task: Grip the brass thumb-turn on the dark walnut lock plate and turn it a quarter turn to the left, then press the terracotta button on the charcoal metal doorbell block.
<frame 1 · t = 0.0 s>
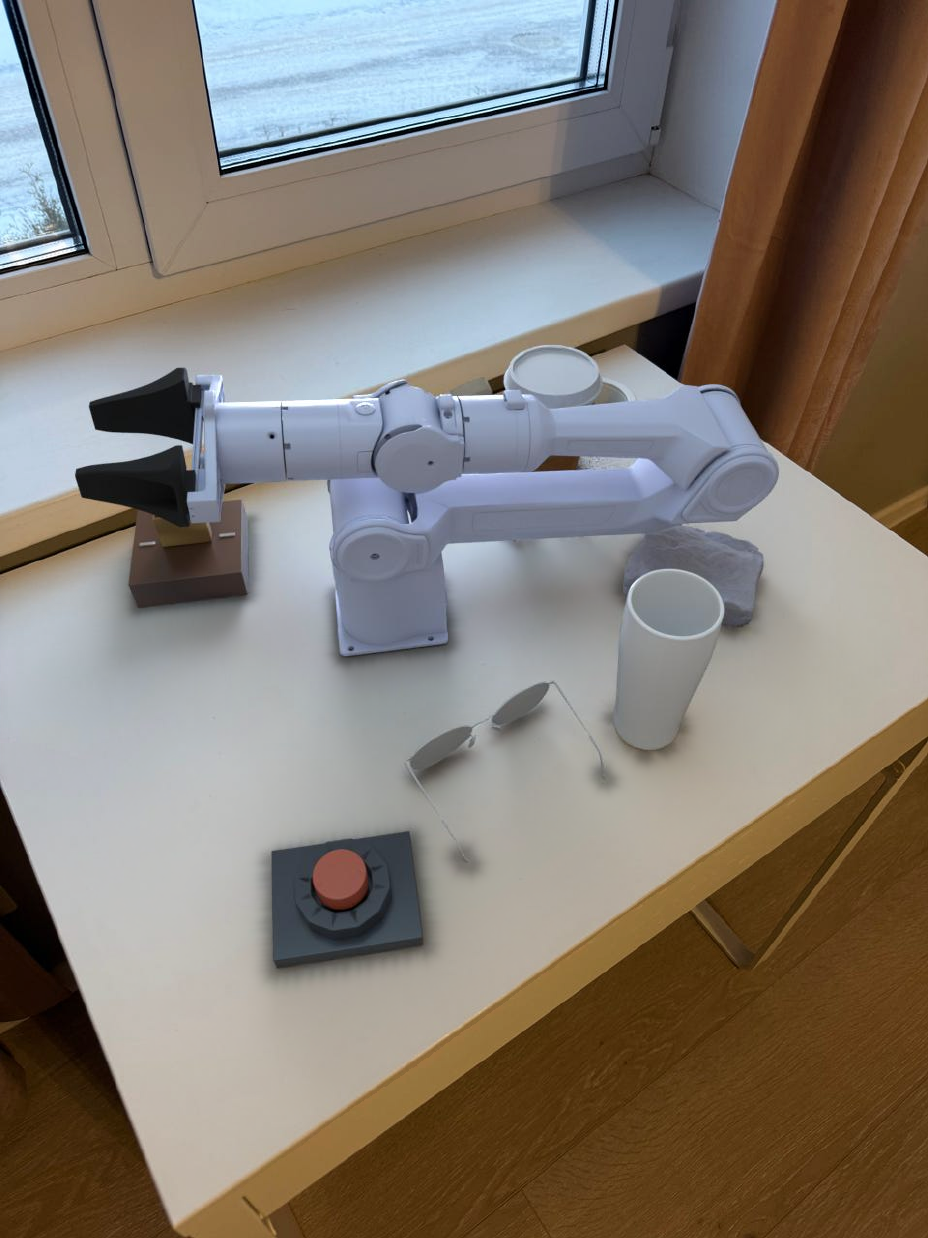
hand: (85, 448, 62), 22 cm above the table, tool horizontal, fingers open, 7 cm apart
disposable coffee cup: (545, 470, 94), on the table
stone block: (692, 581, 83), on the table
drinking glass: (644, 727, 73), on the table
bell button: (340, 879, 61), point 4 cm above the table, slide at 0.1 cm
lock plate: (195, 562, 86), on the table
bell block: (346, 901, 63), on the table
thumbturn: (182, 524, 82), point 5 cm above the table, hinge at 0.0°
handle: (528, 537, 86), point 1 cm above the table
sunglasses: (506, 779, 70), on the table
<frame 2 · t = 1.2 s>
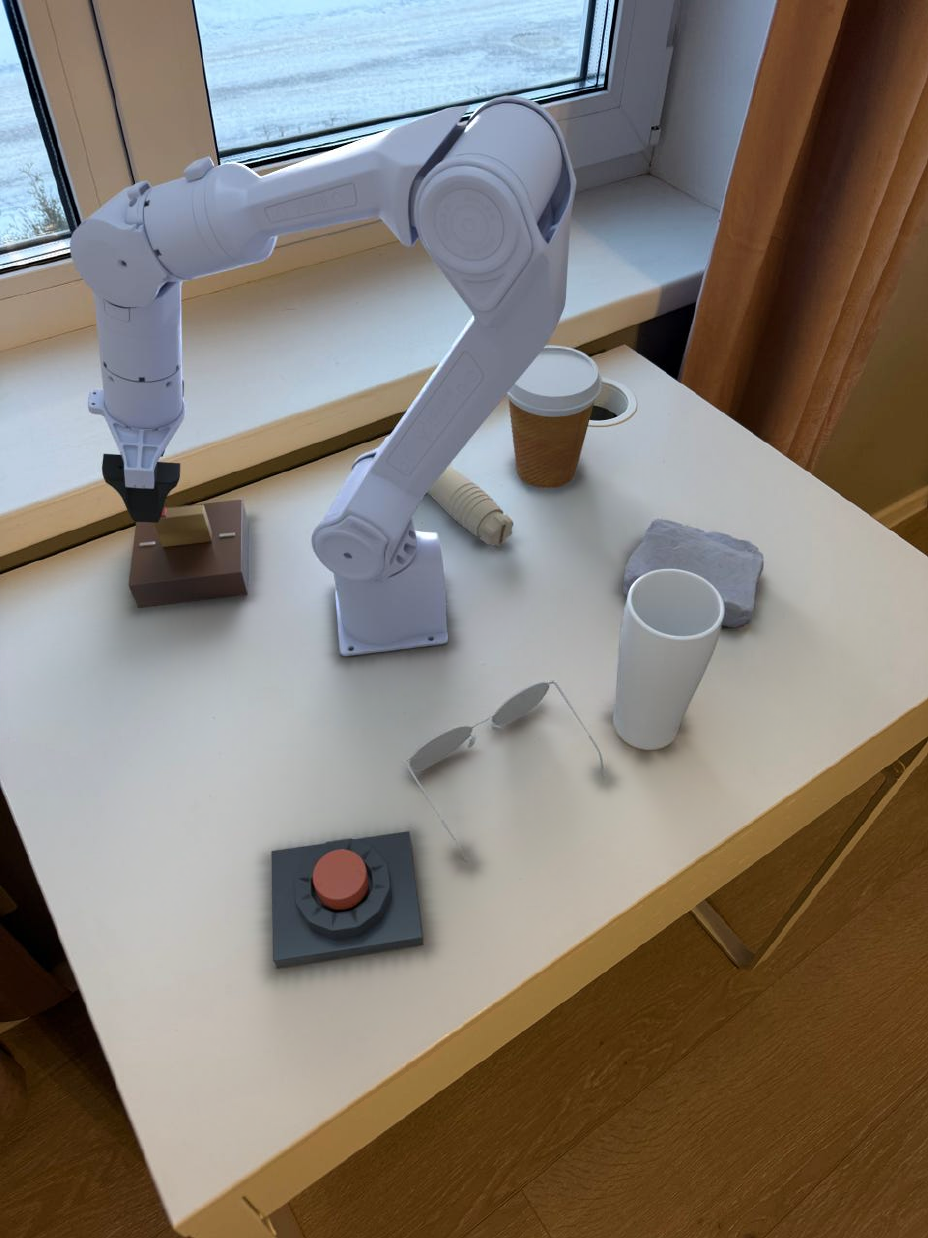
hand: (148, 485, 76), 11 cm above the table, tool tilted 15°, fingers open, 7 cm apart
handle: (504, 535, 85), point 2 cm above the table
everything else where it was.
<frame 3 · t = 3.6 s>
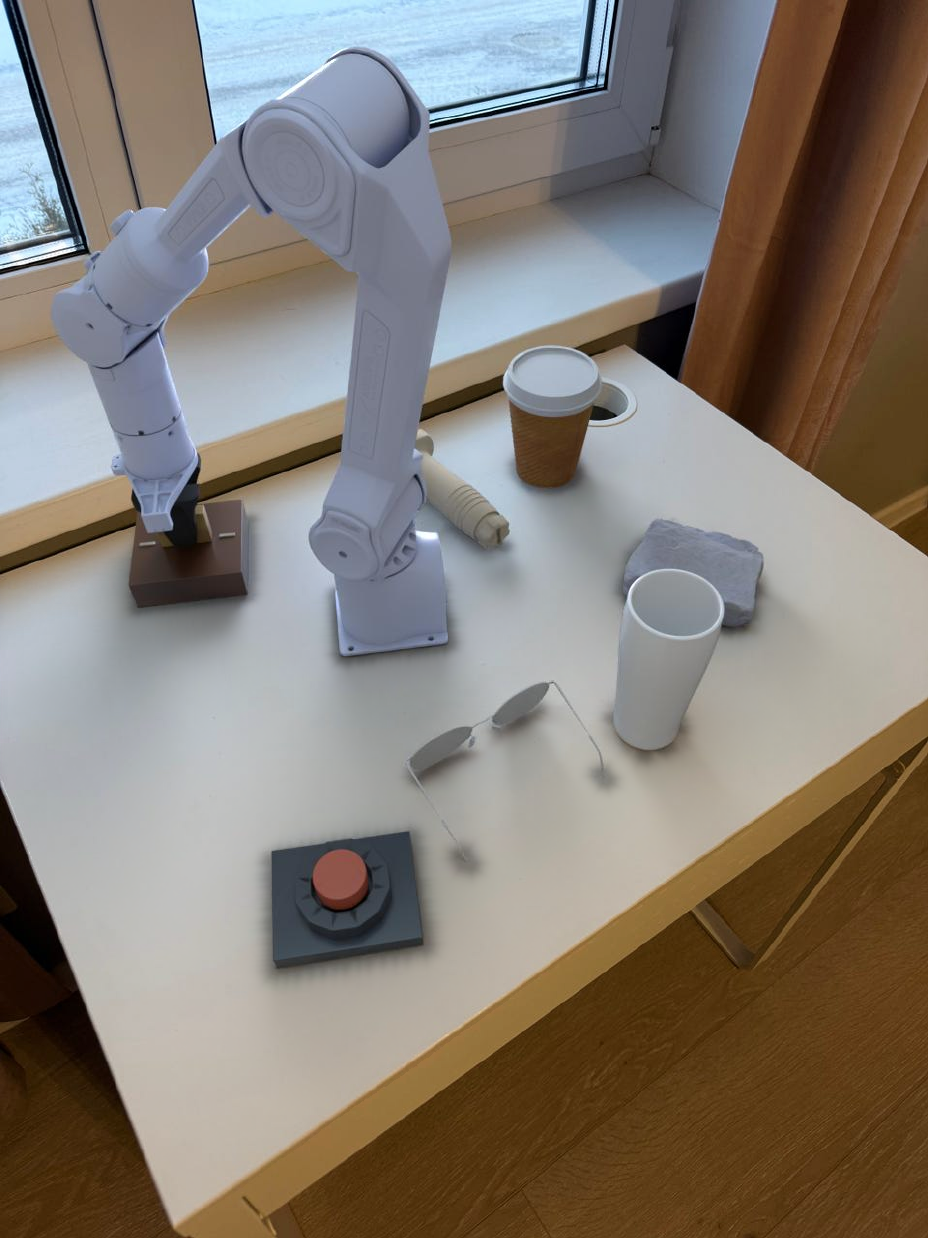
hand: (186, 536, 83), 4 cm above the table, tool pointing down, fingers closed on thumbturn
thumbturn: (182, 524, 82), point 5 cm above the table, hinge at 0.1°, touching gripper
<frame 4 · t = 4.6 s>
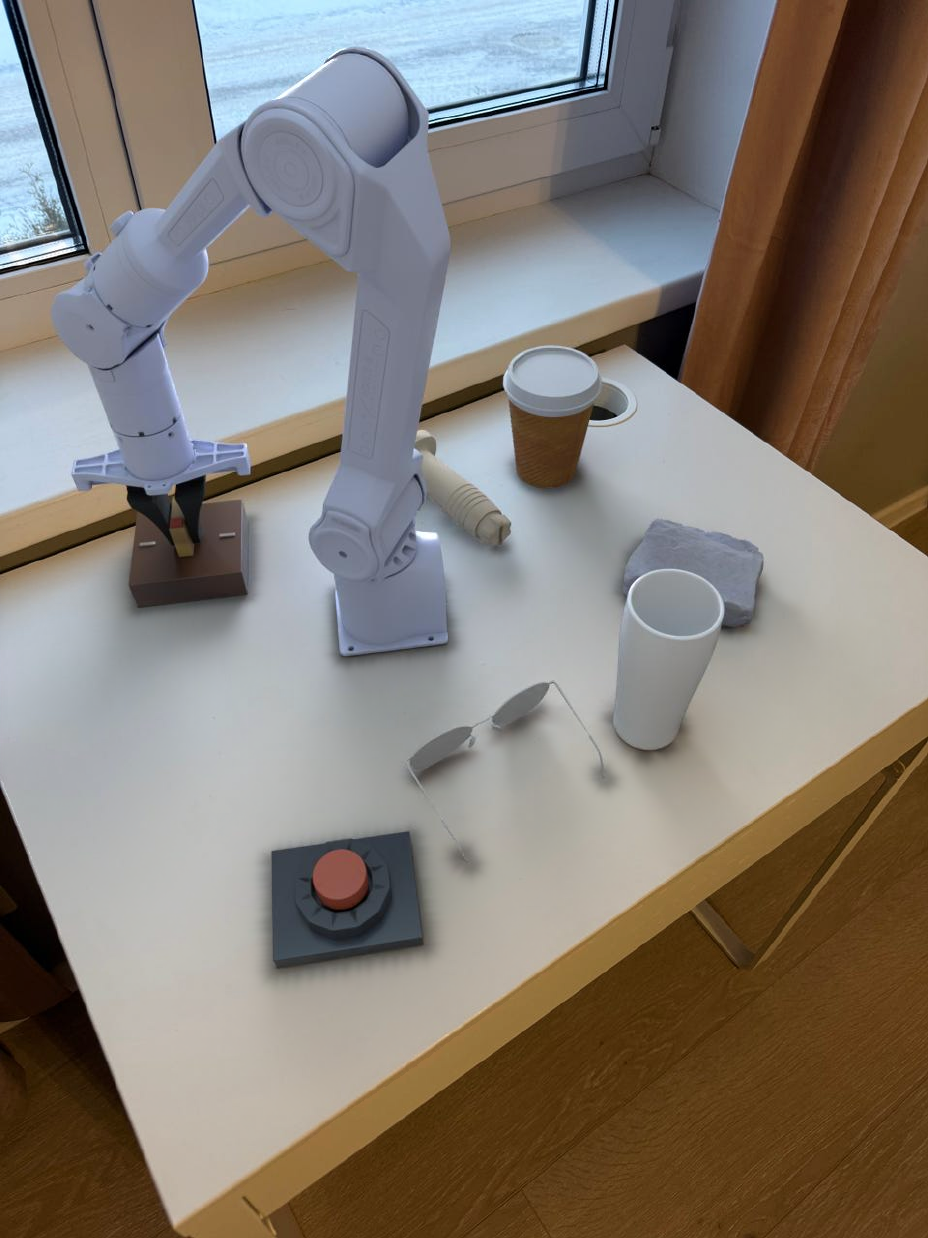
hand: (186, 536, 83), 3 cm above the table, tool pointing down, fingers closed on thumbturn
thumbturn: (182, 524, 82), point 5 cm above the table, hinge at 89.5°, touching gripper
everything else where it was.
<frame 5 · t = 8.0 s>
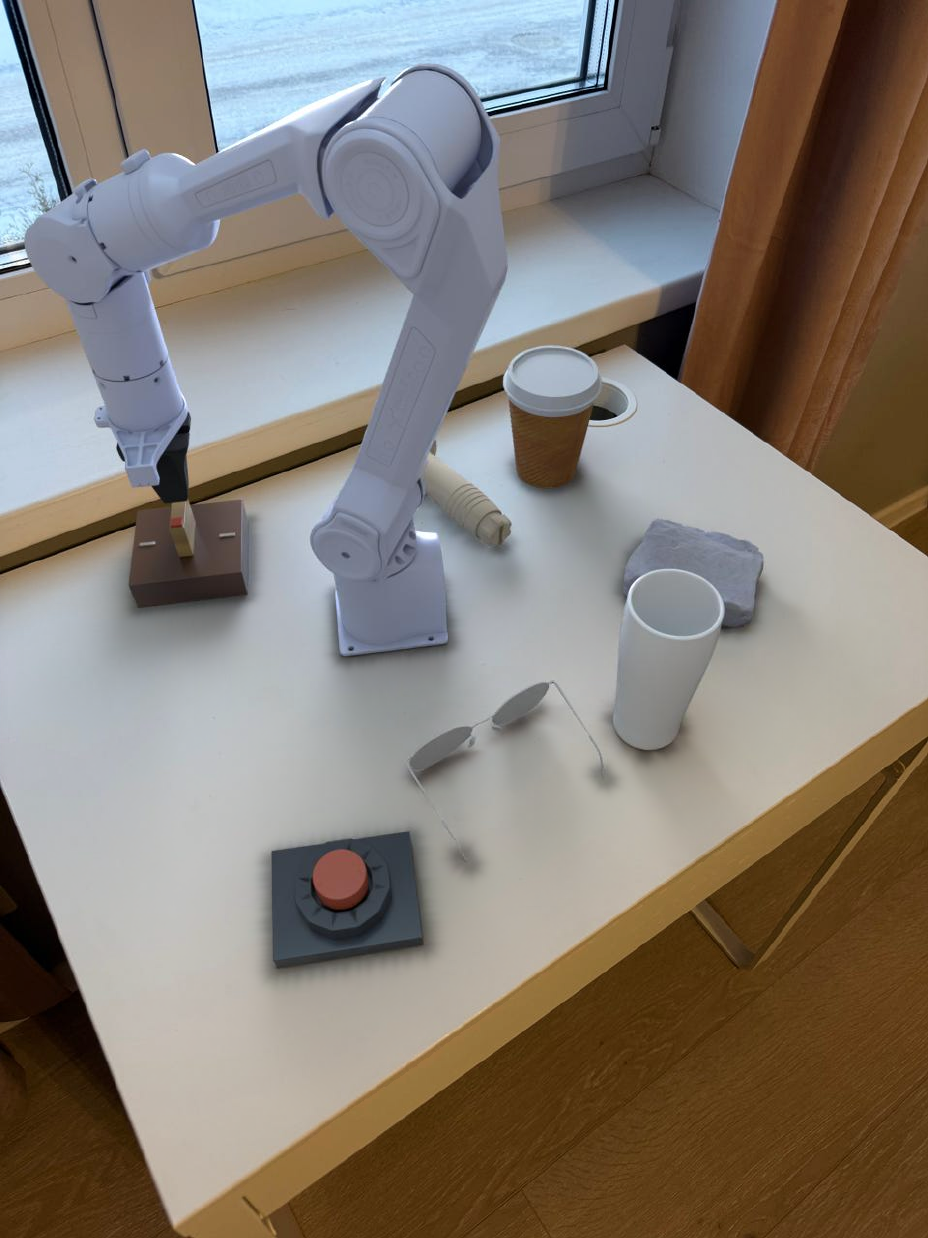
hand: (176, 497, 78), 9 cm above the table, tool pointing down, fingers closed
thumbturn: (182, 524, 82), point 5 cm above the table, hinge at 89.5°
everything else where it was.
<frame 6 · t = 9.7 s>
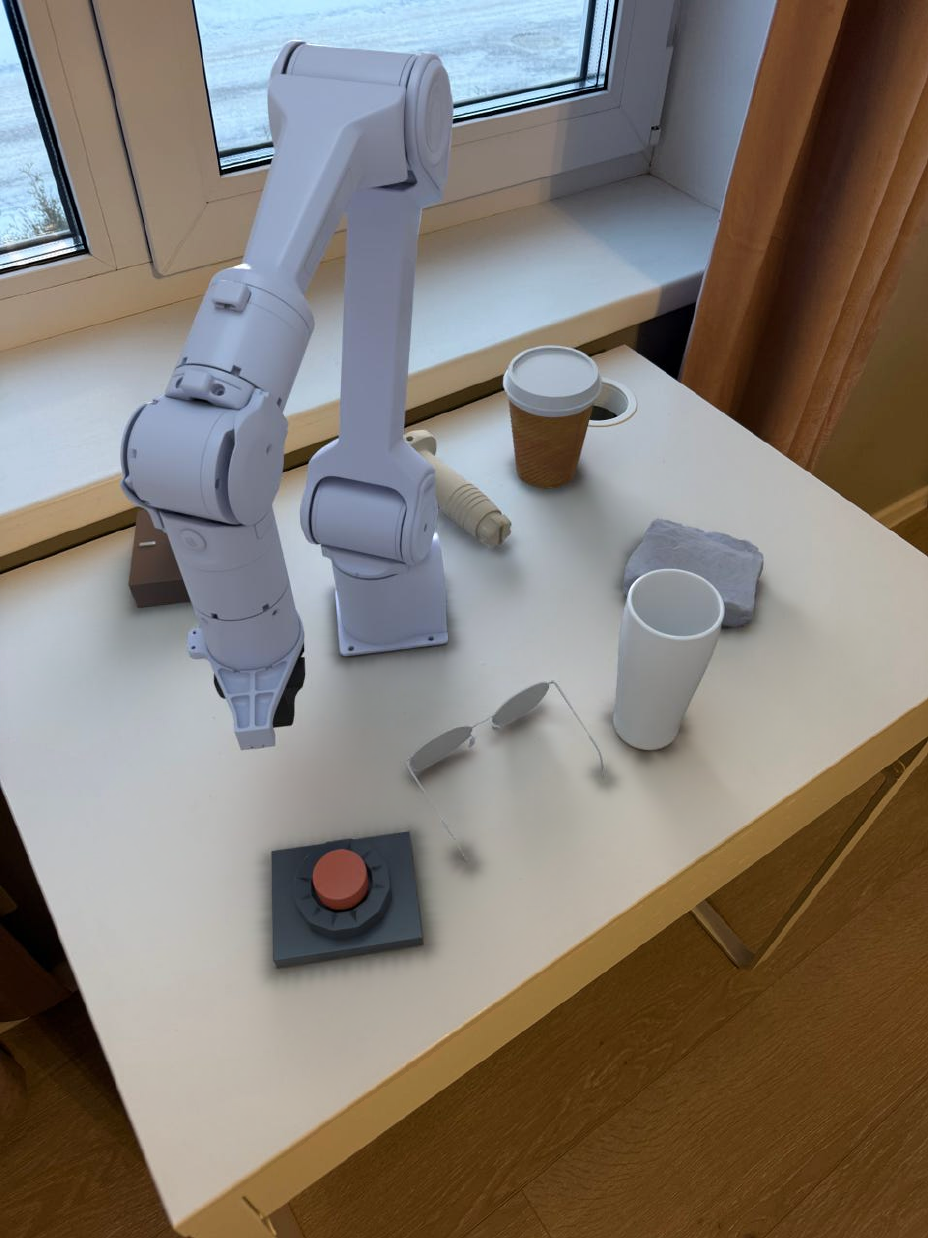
hand: (277, 719, 62), 9 cm above the table, tool pointing down, fingers closed
nothing on the table moved.
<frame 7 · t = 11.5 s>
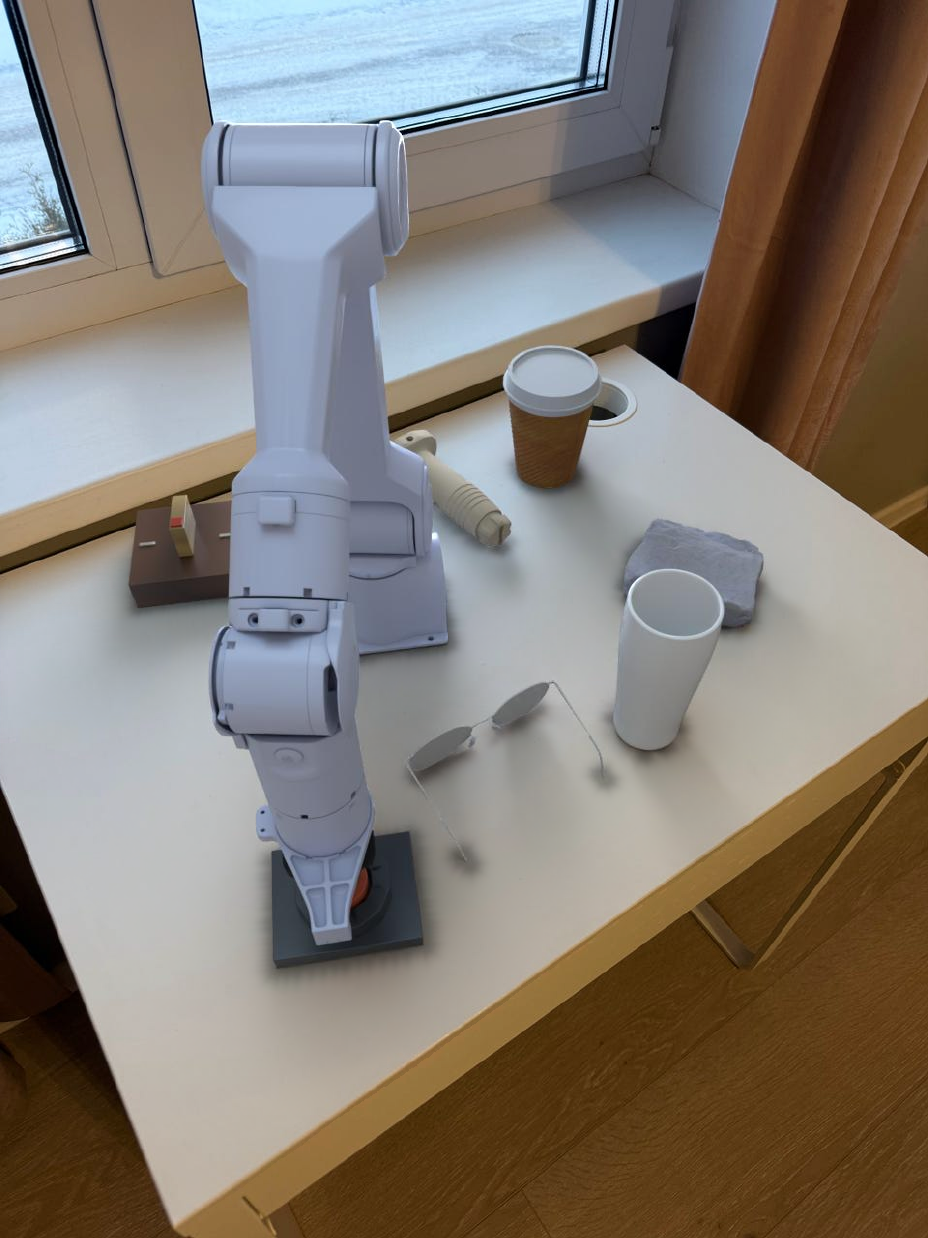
hand: (340, 879, 61), 4 cm above the table, tool pointing down, fingers closed, pressing on bell button
bell button: (342, 884, 61), point 3 cm above the table, slide at -0.7 cm, touching gripper
everything else where it was.
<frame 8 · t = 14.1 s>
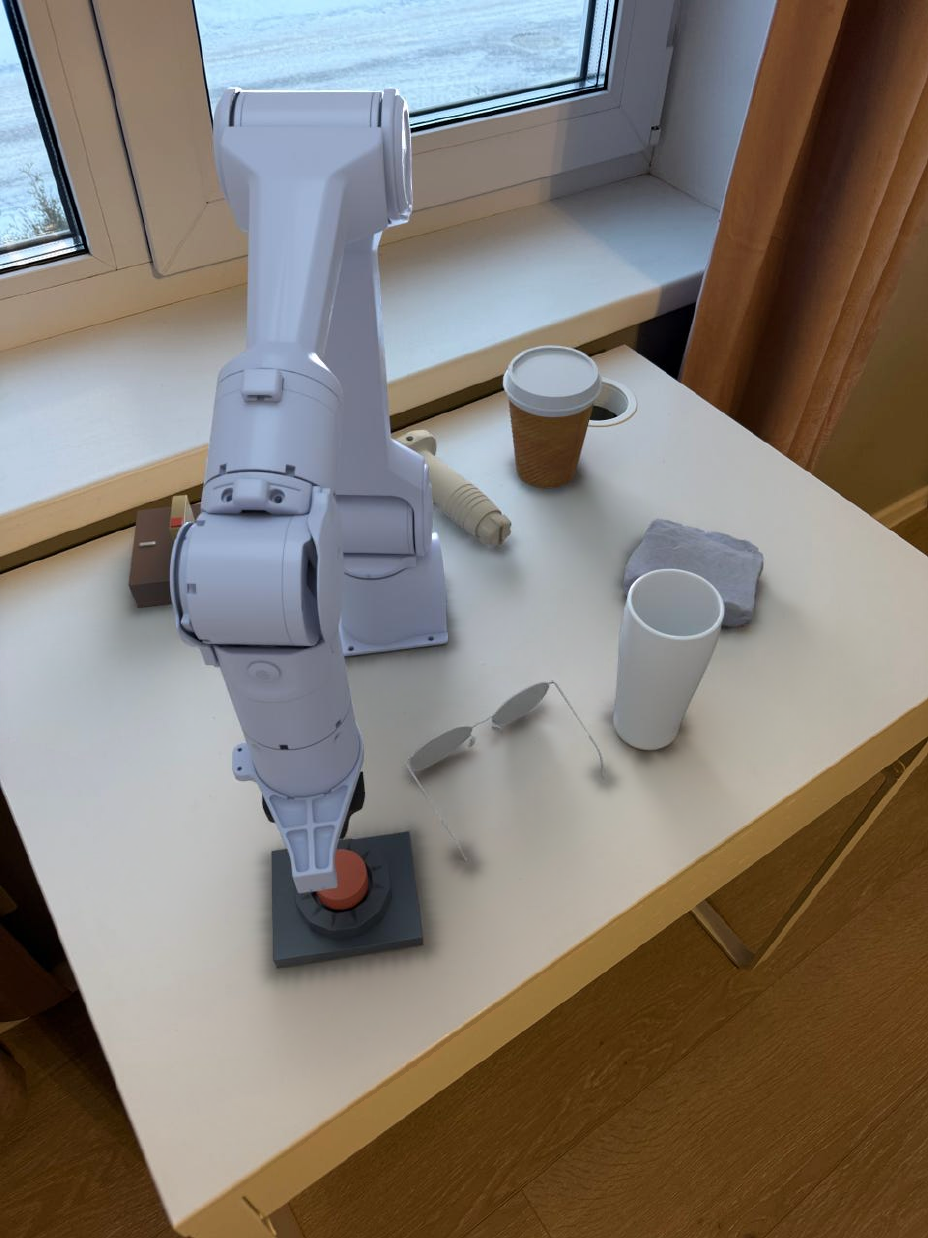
hand: (328, 831, 55), 10 cm above the table, tool pointing down, fingers closed
bell button: (340, 879, 61), point 4 cm above the table, slide at 0.1 cm
everything else where it was.
at the end: thumbturn at +90° (first picture: +0°); bell button pushed in 1.0 cm at the most during the clip, back to where it started at the end; bell button slide at 0.1 cm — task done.
